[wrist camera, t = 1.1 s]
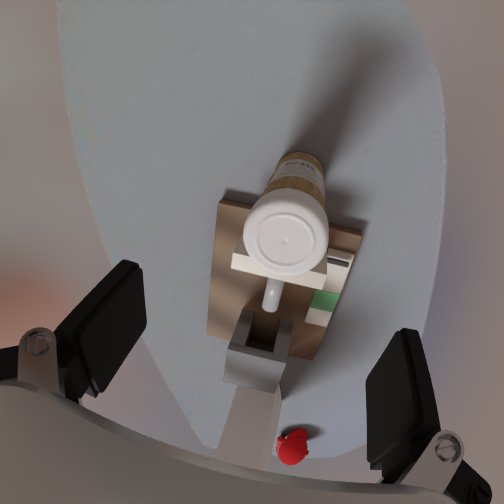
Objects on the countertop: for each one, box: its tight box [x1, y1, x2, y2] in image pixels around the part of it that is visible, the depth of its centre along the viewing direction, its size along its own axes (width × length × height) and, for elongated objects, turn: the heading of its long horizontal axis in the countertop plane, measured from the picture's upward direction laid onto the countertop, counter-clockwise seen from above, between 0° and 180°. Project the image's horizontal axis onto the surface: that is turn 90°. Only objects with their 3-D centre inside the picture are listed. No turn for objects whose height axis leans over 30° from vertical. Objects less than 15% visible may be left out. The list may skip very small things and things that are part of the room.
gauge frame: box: [207, 199, 362, 394], centre depth 30 cm, size 18×14×8 cm
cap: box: [276, 428, 309, 465], centre depth 48 cm, size 8×6×6 cm
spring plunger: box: [231, 235, 349, 312], centre depth 28 cm, size 7×10×4 cm, turn 81°
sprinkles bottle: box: [243, 152, 329, 276], centre depth 21 cm, size 5×5×13 cm
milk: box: [214, 384, 282, 472], centre depth 34 cm, size 6×6×22 cm
